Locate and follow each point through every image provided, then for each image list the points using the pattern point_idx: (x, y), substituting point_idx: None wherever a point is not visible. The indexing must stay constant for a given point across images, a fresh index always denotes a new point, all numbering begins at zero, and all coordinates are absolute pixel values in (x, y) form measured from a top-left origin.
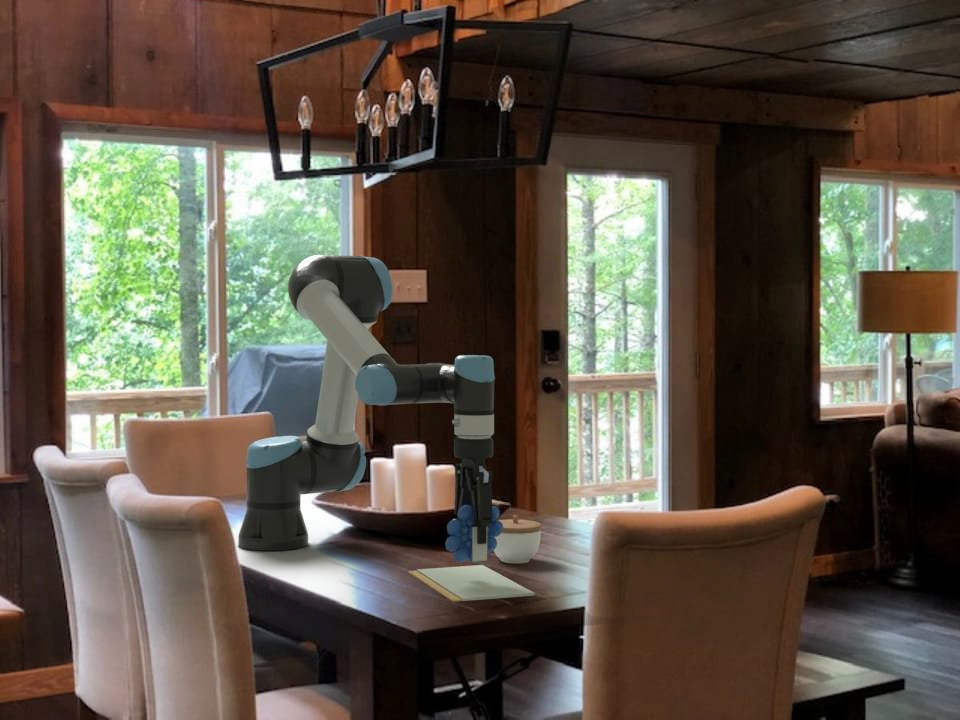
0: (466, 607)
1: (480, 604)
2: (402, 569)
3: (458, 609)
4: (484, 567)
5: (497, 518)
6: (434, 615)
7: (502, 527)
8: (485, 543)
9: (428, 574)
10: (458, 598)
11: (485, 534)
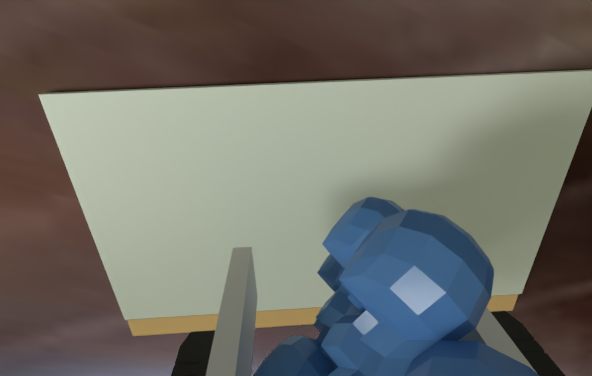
0: (575, 293)
1: (573, 258)
2: (86, 336)
3: (578, 311)
4: (97, 104)
5: (499, 352)
6: (587, 357)
7: (471, 238)
8: (505, 314)
9: (203, 306)
10: (504, 296)
11: (552, 367)
